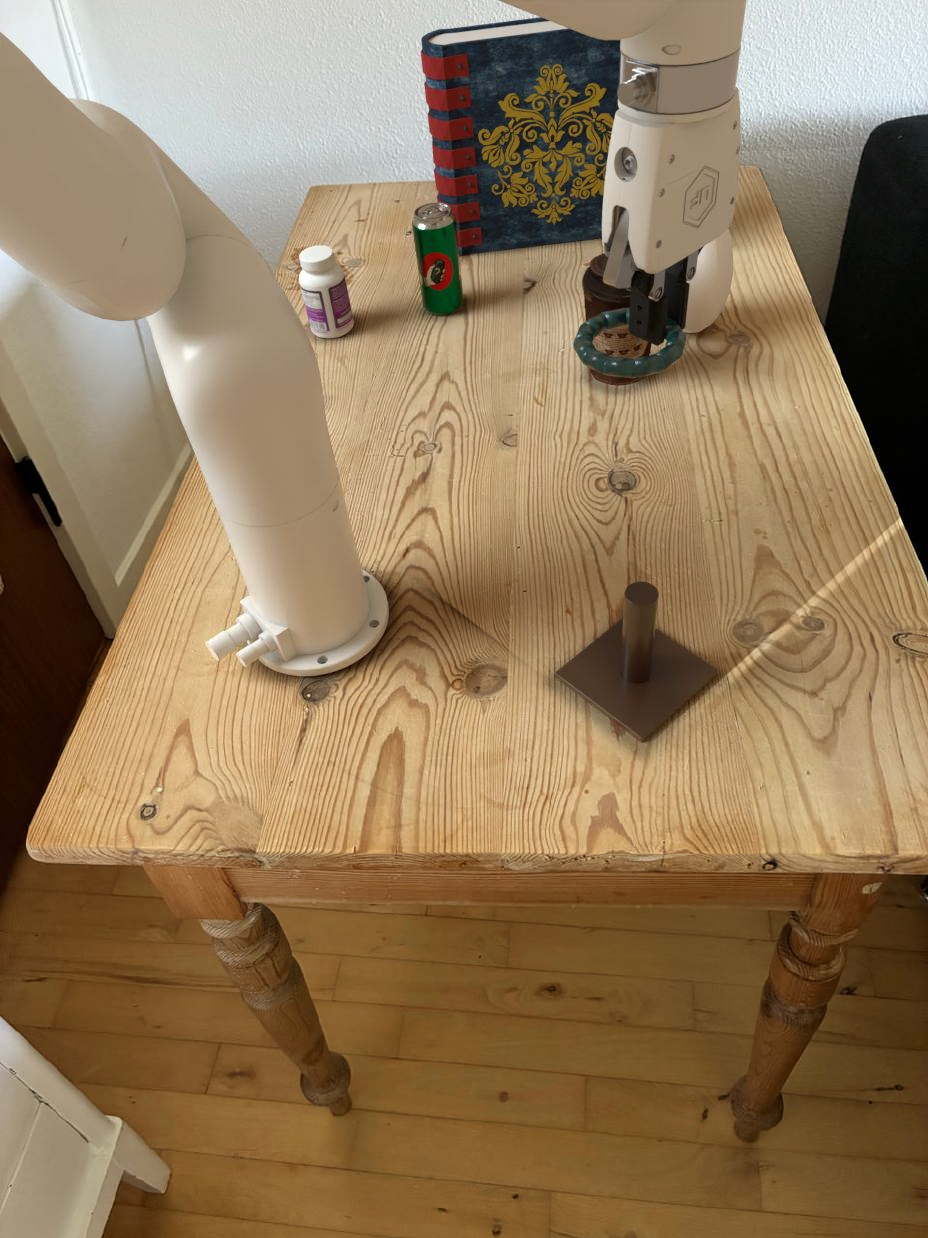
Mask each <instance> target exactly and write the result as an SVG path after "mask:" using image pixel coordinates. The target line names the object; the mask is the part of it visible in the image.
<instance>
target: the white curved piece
mask: <svg viewBox="0 0 928 1238" xmlns="http://www.w3.org/2000/svg"><path fill="white" fill-rule="evenodd" d="M729 228H730V227H729ZM729 228H728V229H727V230H726V231H725V232H724V233H723V234H722V235H720V236H719V237H717V238H716V239H714V240H713V241H711V242H710V243H708V244H706V245H705V246H704V247H703V248H702V250H701V252H700V254H699V255H698V259H697V268H696V273H695V276H694V277H693V279H692V280H691V281H687V283H689V284H690V287H689V296H688V305H687V315H686V324H685V328H684V329H683V330H682V331H683V332H684V333H688V334H694V333H699V332H702V331H703V330H704V329H707V328H708V327H710V326H712V324H714V323H715V321H716V320H717V318H718V317H719V316H720V315H721V313H722V311H723V309H724V307H725V306H726V303H727V301H728V298H729V295H730V291H731V287H732V282H733V275H734V249H733V243H732V237H731V233H730V229H729Z"/></svg>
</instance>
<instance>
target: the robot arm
mask: <svg viewBox="0 0 928 1238" xmlns="http://www.w3.org/2000/svg"><path fill="white" fill-rule="evenodd" d="M498 1H499V2H501V3H504V4H506V5H508V6H510V7H511V6H512V7H514V8H516V9H519V10H522V11H524V12H526V13H530V14H531V15H534V16H536V17H541V18H544V19H547V20H549V21H552V22H554V23H557V24H559V25H562V26H564V27H567V28H569V29H572V30H574V31H577V32H579V33H582V34H584V35H587V36H590V37H593V38H596V39H601V40H620V61H619V86H618V90H617V95H618V106H619V110H617V111H616V113H615V118H614V123H613V128H612V134H611V140H610V146H609V152H608V159H607V166H606V175H605V184H604V195H603V210H602V238H601V243H602V250H603V254H604V253H605V255H606V256H607V257H608V261H607V264H606V268H605V272H604V275H603V282H604V283H606V284H608V285H611V286H613V287H615V288H626V289H627V290H629V291H630V309H629V326H628V330H629V333H630V334H631V335H633V336H636V337H638V338H640V339H642V340H645V341H647V342H649V343H651V344H652V345H653V346H656V347H658V346H661V345H662V344H663V343H664V342H665V331H666V320H667V316H668V317H670V318H672V319H674V320H675V321H676V323H677V324H678V325H679V327H680V328H681V329H682V330H683V329H684V328H685V324H686V315H687V305H688V296H689V287H690V284H689V283H687V281H691V280H692V279H693V277H694V276H695V273H696V268H697V259H698V255H699V254H700V252H701V250H702V248H703V247H704V246H705V245H706V244H708V243H710V242H711V241H713V240H714V239H716V238H717V237H719V236H720V235H722V234H723V233H724V232H725V231H726V230H727V229H728V228H730V226H731V225H732V223H733V220H734V215H735V209H736V200H737V191H738V180H739V168H740V153H741V130H742V129H741V126H742V125H741V124H742V121H741V120H742V119H741V103H740V90H739V88H738V87H737V79H738V71H739V64H740V55H741V47H742V39H743V31H744V23H745V15H746V8H747V0H498ZM0 250H1V251H2V252H4V253H5V254H6V255H7V256H8V257H10V258H11V259H12V260H14V262H16V263H17V264H18V265H19V266H21V267H22V268H23V269H25V270H26V271H27V272H29V274H31V275H32V276H33V277H34V278H35V279H37V280H38V281H39V282H40V283H41V284H42V285H44V286H45V287H46V288H47V289H48V290H49V291H51V292H52V293H53V294H54V295H56V296H57V297H58V298H59V299H61V300H62V301H63V302H65V303H67V304H68V305H70V306H72V307H73V308H76V309H77V310H79V311H80V312H82V313H85V314H87V315H91V316H94V317H96V318H99V319H102V320H108V321H114V322H129V321H138V320H142V319H144V321H146V322H147V323H148V325H149V329H150V331H151V334H152V339H153V343H154V347H155V350H156V352H157V355H158V359H159V361H160V365H161V368H162V372H163V374H164V378H165V381H166V384H167V387H168V389H169V393H170V396H171V398H172V401H173V404H174V406H175V409H176V412H177V414H178V417H179V419H180V421H181V423H182V426H183V428H184V430H185V433H186V435H187V438H188V440H189V443H190V445H191V447H192V450H193V452H194V455H195V457H196V460H197V463H198V465H199V468H200V470H201V474H202V475H203V479H204V481H205V484H206V486H207V489H208V492H209V494H210V497H211V500H212V502H213V505H214V507H215V509H216V510H217V513H218V516H219V519H220V521H221V524H222V527H223V529H224V531H225V534H226V537H227V540H228V542H229V544H230V547H231V551H232V552H233V555H234V558H235V561H236V563H237V566H238V568H239V571H240V573H241V576H242V579H243V582H244V585H245V588H246V590H247V593H248V595H247V596H246V597H244V598H242V599H240V600H239V603H240V606H241V608H242V611H243V613H242V614H240V615H239V616H238V617H236V618H235V624H233V625H232V626H230V627H229V628H227V629H226V630H222V631H220V632H219V633H217V634H216V635H214V636H213V637H211V638H209V639H208V640H207V641H205V646H206V649H207V650H208V651H209V653H210V654H211V656H212V657H213V658H214V659H215V660H216V662H220V661H222V660H223V659H224V658H226V657H228V656H229V655H231V654H232V653H233V652H235V651H236V650H237V649H238V648H239V647H241V646H242V645H243V644H245V643H247V645H246V646H245V647H243V648H242V649H240V650H239V651H237V652H235V656H236V658H237V659H238V661H239V663H240V664H241V665H242V666H243V667H245V668H247V667H248V666H249V665H250V664H252V663H253V662H255V661H257V660H258V661H259V662H260V663H261V664H262V665H263V666H265V667H266V668H269V669H271V670H273V671H274V672H277V673H281V674H284V675H288V676H294V677H295V676H296V677H316V676H321V675H328V674H331V673H333V672H337V671H339V670H344V669H345V668H347V667H349V666H351V665H353V664H355V663H356V662H358V661H360V660H361V659H362V658H364V657H365V656H367V655H368V654H369V653H370V652H371V651H372V650H373V649H374V648H375V647H376V646H377V644H378V643H379V642H380V640H381V639H382V637H383V636H384V634H385V631H386V629H387V627H388V624H389V619H390V606H389V602H388V597H387V593H386V591H385V589H384V587H383V585H382V584H381V582H379V580H378V579H377V578H376V576H374V575H372V574H371V573H370V572H368V571H366V570H365V569H362V565H361V561H360V557H359V551H358V548H357V544H356V540H355V536H354V531H353V527H352V523H351V520H350V514H349V510H348V507H347V502H346V498H345V494H344V490H343V486H342V482H341V478H340V477H341V476H340V472H339V468H338V467H337V463H336V462H337V461H336V459H335V454H334V450H333V445H332V441H331V436H330V432H329V426H328V421H327V415H326V409H325V401H324V391H323V384H322V383H323V382H322V376H321V372H320V367H319V363H318V359H317V356H316V353H315V350H314V347H313V345H312V343H311V339H310V337H309V335H308V333H307V330H306V328H305V326H304V325H303V323H302V321H301V319H300V317H299V315H298V313H297V311H296V309H295V308H294V306H293V305H292V303H291V301H290V299H289V297H288V296H287V294H286V291H285V290H284V289H283V288H282V287H281V284H280V282H279V281H278V278H277V277H276V275H275V273H274V272H273V269H272V268H271V266H270V265H269V264H268V262H267V261H266V258H265V257H264V256H263V254H262V253H261V252H260V250H259V249H258V248H257V246H256V245H255V244H254V243H253V242H252V241H251V240H250V239H249V238H248V236H247V235H246V234H245V233H244V232H243V231H242V230H241V229H240V228H239V227H238V226H237V225H236V224H235V223H234V222H233V221H232V220H231V219H230V218H229V217H228V216H227V214H226V213H225V212H223V210H222V209H221V208H220V207H219V206H218V205H216V203H215V202H214V201H213V200H212V199H211V198H210V197H209V196H208V195H207V194H206V193H205V192H204V191H203V190H202V189H201V188H200V187H199V186H198V185H197V184H196V183H195V182H194V181H193V180H192V179H191V178H190V177H189V176H188V175H187V174H186V173H185V172H184V171H183V169H182V168H180V166H179V165H177V163H175V162H174V160H173V159H172V158H171V157H170V156H169V155H168V154H167V153H166V152H165V151H164V150H163V149H162V148H161V147H160V146H159V144H157V143H156V142H155V141H154V140H153V139H152V138H151V137H150V136H149V135H148V134H147V133H146V132H145V131H144V130H143V129H142V128H140V127H139V126H138V125H137V124H135V123H134V122H133V120H131V119H129V118H128V117H126V116H125V115H124V114H122V113H121V112H119V111H117V110H115V109H113V108H111V107H110V106H107V105H105V104H102V103H100V102H96V101H94V100H89V99H82V98H72V97H70V98H69V97H67V96H66V95H65V94H64V93H63V92H62V91H61V90H60V89H59V88H58V87H57V86H55V85H54V84H53V82H52V81H50V80H49V79H48V78H47V76H45V74H44V73H43V72H42V71H41V70H40V69H39V68H38V67H37V66H36V64H35V63H34V62H33V61H32V60H31V59H30V58H29V57H28V56H27V55H26V53H24V51H22V49H20V48H19V47H18V46H17V45H16V44H14V42H13V41H12V40H10V39H9V38H8V37H7V36H6V35H5V34H3V33H2V32H1V31H0ZM641 269H643V270H645V272H647V273H649V276H648V275H647V274H646V273H645V272H643V271H641Z"/></svg>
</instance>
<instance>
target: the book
mask: <svg viewBox="0 0 928 1238" xmlns="http://www.w3.org/2000/svg"><path fill="white" fill-rule="evenodd" d="M420 40H421V50H420V60H421V67H422V73H423V74H424V76H425V77H424V78H425V81H424V84H423V86H424V87H423V88H424V95H425V102H426V104H427V106H428V112H427V121H428V131H429V134H430V135H431V148H432V150H431V151H432V162H433V164H434V169H433V175H434V182H435V183H434V184H435V190H436V191H437V195H436V202H437V203H445V204H447V205H449V206H450V207H451V209H452V213H453V214H454V215H455V217H456V227H457V237H458V248H459V256H462V257H463V256H465V255H466V256H468V255H470V254H478V253H488V252H494V251H495V252H496V251H504V250H510V249H511V250H512V249H519V248H527V247H528V248H529V247H535V246H546V245H552V244H561V243H570V242H579V241H585V240H594V239H602V210H603V195H604V184H605V175H606V166H607V159H608V152H609V146H610V140H611V134H612V128H613V123H614V118H615V113H616V111H617V110H619V106H618V95H617V90H618V86H619V61H620V40H601V39H596V38H593V37H590V36H587V35H584V34H582V33H579V32H577V31H574V30H572V29H569V28H567V27H564V26H562V25H559V24H557V23H554V22H552V21H549V20H547V19H544V18H541V17H539V16H537V17H532V18H531V17H530V18H522V19H516V20H515V19H514V20H507V21H500V22H499V21H498V22H491V23H484V24H483V23H482V24H475V25H467V26H459V27H452V28H438V29H435V30H432V31H430V32H428V33H426V34H424V35H423V36H422V37H421V39H420Z"/></svg>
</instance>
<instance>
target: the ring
mask: <svg viewBox="0 0 928 1238" xmlns="http://www.w3.org/2000/svg"><path fill="white" fill-rule="evenodd" d="M629 309H630V308H622V309H617V310H612V311H607V312H602V313H599V314H598V315H596V316H594V317H593V318H591V319H590V320H588V321H586V322H583V323H582V324H580V325H579V327H578V330H577V332H576V335H575V337H574V340H573V343H572V346H573V349H574V351H575V353H576V355H577V357H578V359H579V360H580V361H581V363H582V364H583V365H584V366H585V367H588V368H589V369H590V368H591V369H593V370H596V371H598V372H600V373H602V374H604V375H607V376H616V377H627V378H637V377H642V376H646V377H647V376H651V375H655V374H660V373H662V372H664V371H665V370H667V369H668V368H670V367H671V366H673V365H674V364H676V363H677V362H679V361H680V360H681V359H682V357H683V355H684V350H685V346H686V343H687V335H686V332H683V331H682V329H681V328H680V327H679V325H678V324H677V323H676V321H675V320H674V319H672V318H670V317H668V316H667V320H666V331H665V339H664V341H666V343H665V346H664V347H663V348H661V349H659V351H657V352H656V353H654V354H650V355H649V356H644V357H639V358H634V359H632V358H621V357H611V356H609V355H607V354H605V353H603V352H601V351H598V350H596V348H595V347H594V345H593V340H594V338H595V337H596V336H598V335H599V334H601V333H603V332H604V331H606V330H610V329H615V328H620V327H625V326H629Z"/></svg>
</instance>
